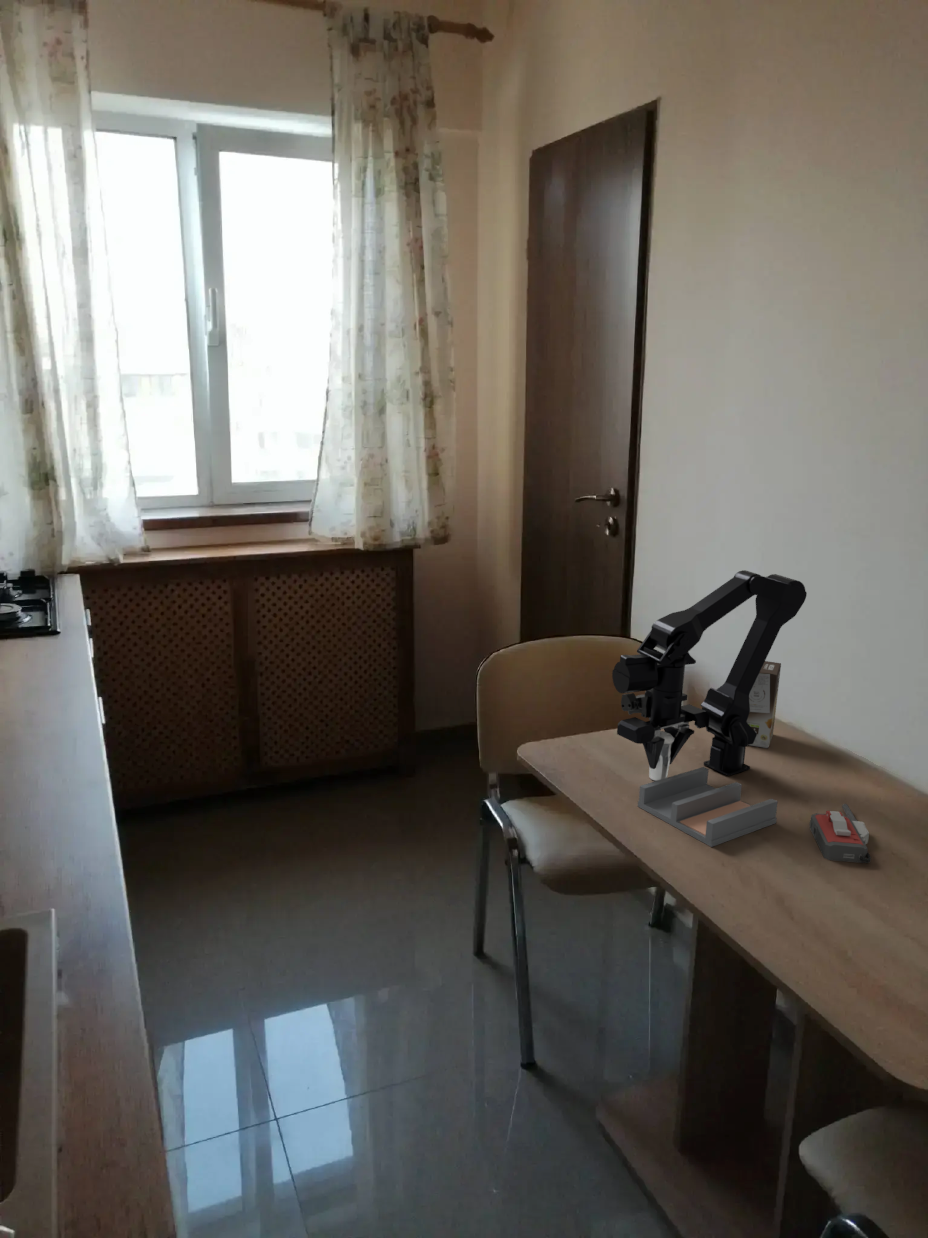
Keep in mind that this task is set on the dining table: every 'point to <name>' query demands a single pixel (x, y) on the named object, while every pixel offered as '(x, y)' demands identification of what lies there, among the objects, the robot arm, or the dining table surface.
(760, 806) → the grey slotted tray
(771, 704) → the coffee box
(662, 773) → the milkshake
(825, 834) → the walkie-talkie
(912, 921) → the dining table surface
